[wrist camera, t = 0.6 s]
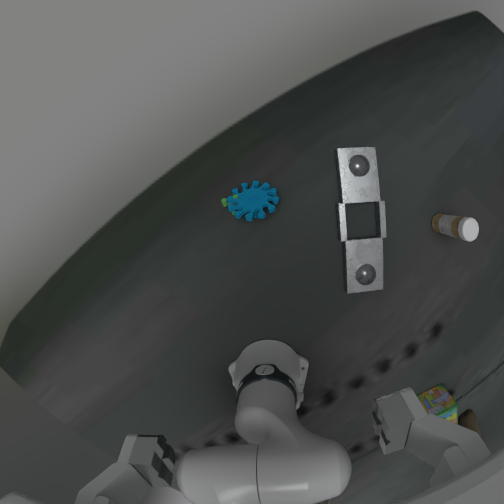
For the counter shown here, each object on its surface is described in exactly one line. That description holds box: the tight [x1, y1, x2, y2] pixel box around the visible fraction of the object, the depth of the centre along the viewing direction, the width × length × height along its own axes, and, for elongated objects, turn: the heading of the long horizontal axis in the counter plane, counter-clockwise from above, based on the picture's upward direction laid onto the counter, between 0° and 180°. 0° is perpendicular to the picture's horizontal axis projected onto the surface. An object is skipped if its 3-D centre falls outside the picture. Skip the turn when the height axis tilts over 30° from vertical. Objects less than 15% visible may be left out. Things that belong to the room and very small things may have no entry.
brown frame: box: [459, 410, 483, 441], centre depth 58 cm, size 33×14×25 cm, turn 42°
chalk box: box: [417, 384, 458, 425], centre depth 60 cm, size 9×9×15 cm
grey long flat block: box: [334, 147, 386, 294], centre depth 59 cm, size 29×10×4 cm, turn 6°
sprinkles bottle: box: [432, 214, 479, 241], centre depth 52 cm, size 5×5×13 cm
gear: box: [221, 181, 279, 221], centre depth 59 cm, size 11×6×10 cm
